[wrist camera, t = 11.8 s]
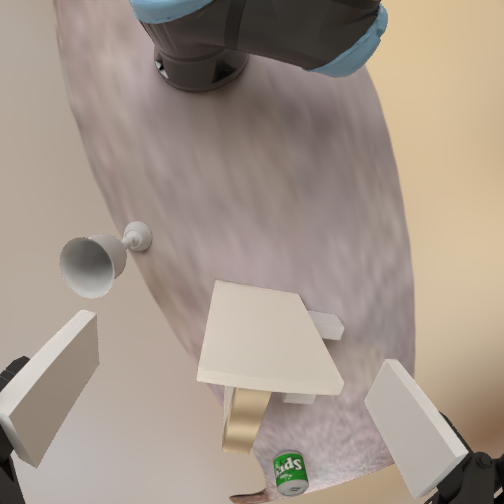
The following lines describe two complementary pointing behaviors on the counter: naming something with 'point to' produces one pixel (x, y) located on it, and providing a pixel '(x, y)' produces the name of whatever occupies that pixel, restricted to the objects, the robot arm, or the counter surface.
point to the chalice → (100, 259)
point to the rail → (244, 419)
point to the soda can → (290, 473)
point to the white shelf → (264, 344)
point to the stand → (327, 329)
